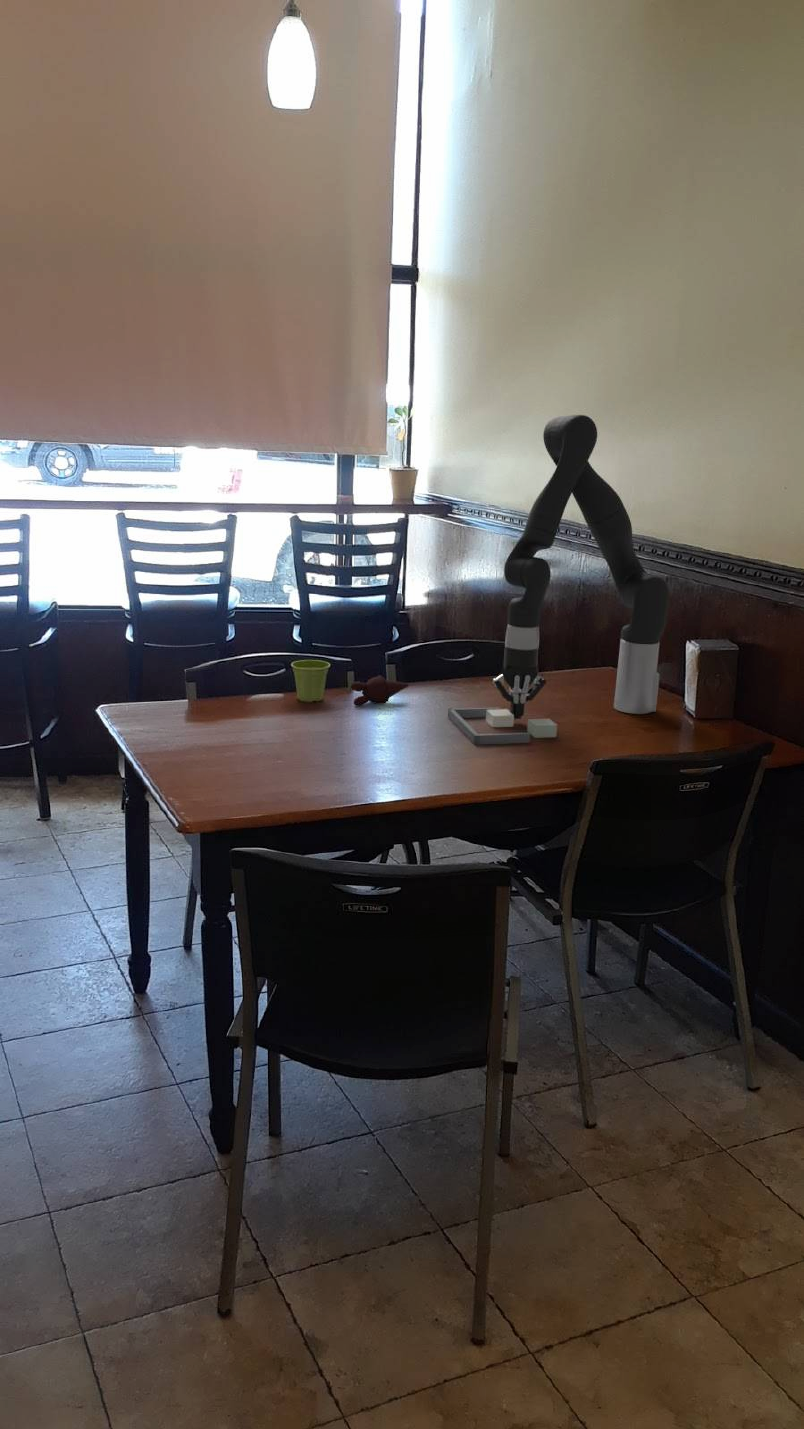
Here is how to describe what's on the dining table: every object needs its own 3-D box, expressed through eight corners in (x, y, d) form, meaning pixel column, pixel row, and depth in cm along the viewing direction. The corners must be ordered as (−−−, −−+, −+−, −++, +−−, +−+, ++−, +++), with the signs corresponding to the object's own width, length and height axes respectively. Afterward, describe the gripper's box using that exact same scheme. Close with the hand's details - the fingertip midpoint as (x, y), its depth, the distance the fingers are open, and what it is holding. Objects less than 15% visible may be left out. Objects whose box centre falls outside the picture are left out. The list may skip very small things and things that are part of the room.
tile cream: (506, 721, 259) (507, 709, 258) (513, 728, 254) (514, 715, 253) (485, 722, 258) (486, 709, 257) (492, 728, 253) (493, 716, 252)
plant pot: (284, 701, 266) (284, 666, 264) (299, 692, 275) (299, 657, 272) (321, 706, 264) (321, 670, 261) (335, 696, 272) (335, 662, 270)
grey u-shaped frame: (499, 715, 262) (499, 707, 262) (529, 742, 243) (530, 733, 242) (448, 716, 259) (448, 708, 259) (474, 744, 240) (475, 735, 239)
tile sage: (548, 731, 253) (549, 718, 252) (556, 738, 248) (557, 725, 247) (527, 732, 251) (528, 719, 251) (534, 738, 247) (535, 725, 246)
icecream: (399, 670, 274) (343, 680, 268) (412, 670, 267) (356, 680, 261) (403, 698, 275) (348, 709, 268) (417, 698, 268) (360, 709, 262)
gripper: (543, 640, 257) (537, 712, 262) (488, 641, 254) (484, 714, 259) (555, 647, 250) (549, 722, 255) (499, 648, 247) (494, 723, 252)
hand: (516, 718), depth 257 cm, fingers closed
